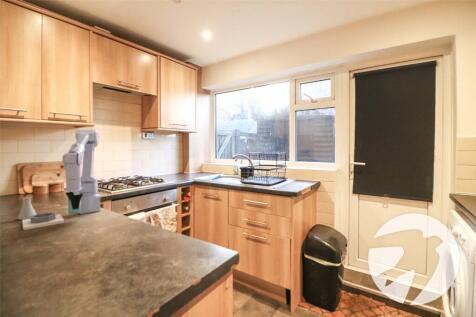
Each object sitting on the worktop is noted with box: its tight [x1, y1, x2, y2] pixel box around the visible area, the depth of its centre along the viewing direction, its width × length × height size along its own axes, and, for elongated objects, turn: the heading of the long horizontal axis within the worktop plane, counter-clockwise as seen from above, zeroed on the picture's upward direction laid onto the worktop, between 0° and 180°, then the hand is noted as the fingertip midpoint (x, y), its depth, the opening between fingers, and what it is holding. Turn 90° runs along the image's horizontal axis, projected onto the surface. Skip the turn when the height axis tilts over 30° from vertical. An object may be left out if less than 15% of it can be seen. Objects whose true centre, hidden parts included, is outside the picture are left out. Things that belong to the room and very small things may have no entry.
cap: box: [67, 199, 81, 215], centre depth 112 cm, size 5×5×6 cm
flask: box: [16, 196, 37, 221], centre depth 118 cm, size 7×7×10 cm
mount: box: [22, 212, 65, 231], centre depth 111 cm, size 14×14×3 cm
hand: (74, 208), depth 112 cm, fingers closed on cap, 5 cm apart
